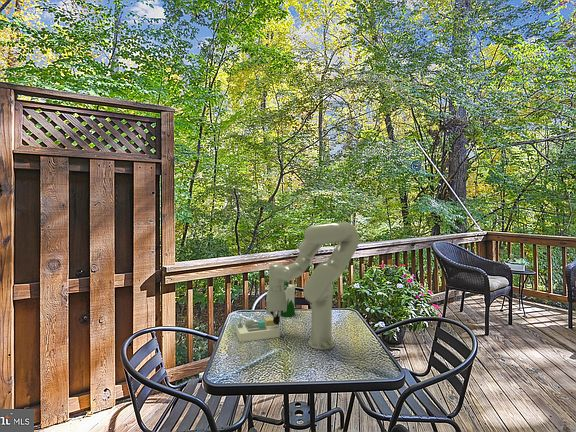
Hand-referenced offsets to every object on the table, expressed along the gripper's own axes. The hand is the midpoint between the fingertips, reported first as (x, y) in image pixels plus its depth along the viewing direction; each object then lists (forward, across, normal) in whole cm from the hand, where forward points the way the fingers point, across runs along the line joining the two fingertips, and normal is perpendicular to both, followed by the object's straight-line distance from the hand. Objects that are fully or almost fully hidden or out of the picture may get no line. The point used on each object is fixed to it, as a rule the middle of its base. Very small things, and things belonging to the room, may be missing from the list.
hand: (276, 323), depth 166 cm
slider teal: (+1, +8, 0) cm, 8 cm away
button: (+4, +2, -5) cm, 7 cm away
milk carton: (+6, -15, -28) cm, 32 cm away
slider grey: (+1, +13, -5) cm, 14 cm away
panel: (+6, +9, -2) cm, 11 cm away
